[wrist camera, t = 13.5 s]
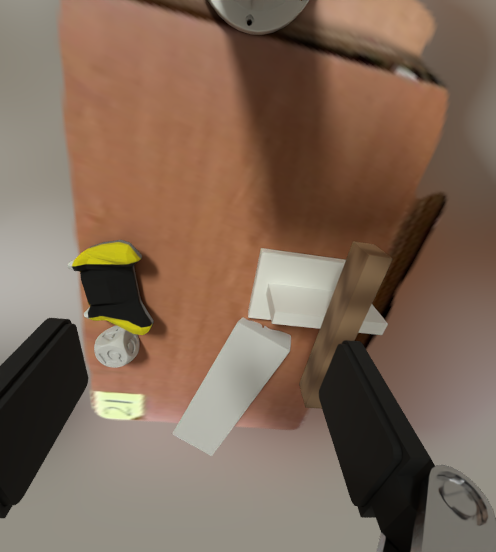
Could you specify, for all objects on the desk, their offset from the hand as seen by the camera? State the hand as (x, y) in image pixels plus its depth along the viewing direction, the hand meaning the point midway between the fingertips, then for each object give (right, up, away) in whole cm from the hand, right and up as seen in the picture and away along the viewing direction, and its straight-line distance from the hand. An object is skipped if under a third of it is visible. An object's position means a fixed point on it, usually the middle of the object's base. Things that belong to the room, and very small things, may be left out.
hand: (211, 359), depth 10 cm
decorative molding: (-3, -19, +44) cm, 48 cm away
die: (-21, -7, +37) cm, 43 cm away
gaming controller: (-18, +3, +31) cm, 36 cm away
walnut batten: (+13, -4, +26) cm, 29 cm away
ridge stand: (+12, +1, +34) cm, 36 cm away
